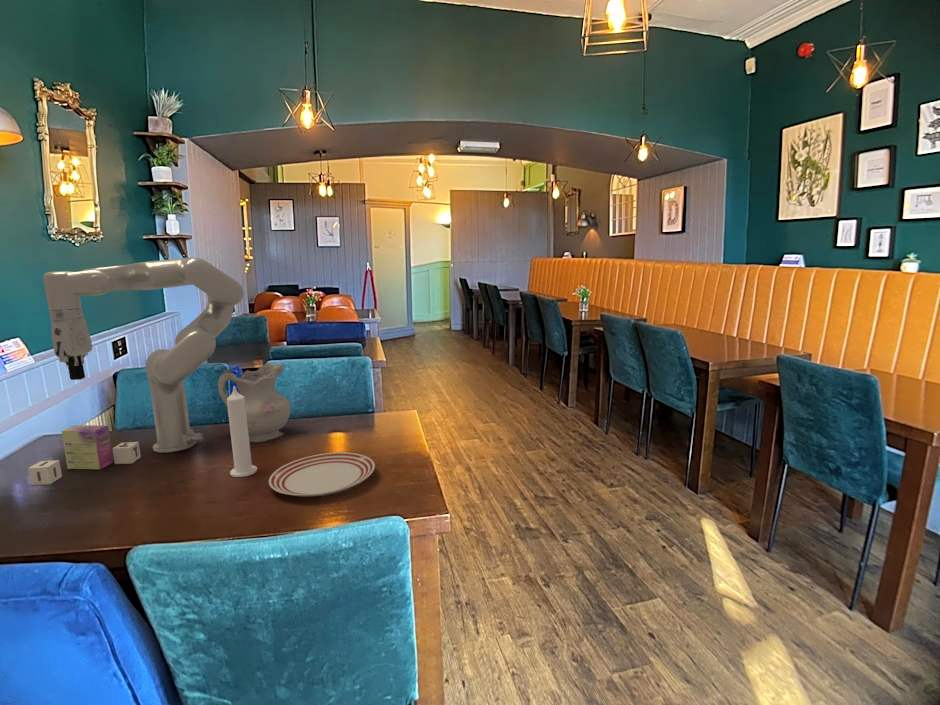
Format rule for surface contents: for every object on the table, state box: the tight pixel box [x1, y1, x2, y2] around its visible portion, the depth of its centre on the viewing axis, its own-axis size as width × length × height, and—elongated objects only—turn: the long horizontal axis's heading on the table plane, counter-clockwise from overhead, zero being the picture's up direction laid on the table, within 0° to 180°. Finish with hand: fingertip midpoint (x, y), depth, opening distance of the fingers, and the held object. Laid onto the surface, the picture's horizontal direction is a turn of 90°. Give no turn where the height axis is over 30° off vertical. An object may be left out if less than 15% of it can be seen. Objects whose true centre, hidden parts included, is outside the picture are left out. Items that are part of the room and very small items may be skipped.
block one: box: [27, 459, 63, 486], centre depth 154 cm, size 5×5×5 cm
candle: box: [226, 385, 258, 478], centre depth 154 cm, size 7×7×25 cm
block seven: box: [111, 441, 142, 465], centre depth 167 cm, size 5×5×5 cm
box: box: [61, 424, 114, 471], centre depth 163 cm, size 10×6×12 cm, turn 84°
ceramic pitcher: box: [217, 362, 291, 443], centre depth 183 cm, size 22×20×25 cm
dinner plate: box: [268, 451, 376, 497], centre depth 148 cm, size 28×27×3 cm
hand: (77, 378), depth 160 cm, fingers closed
